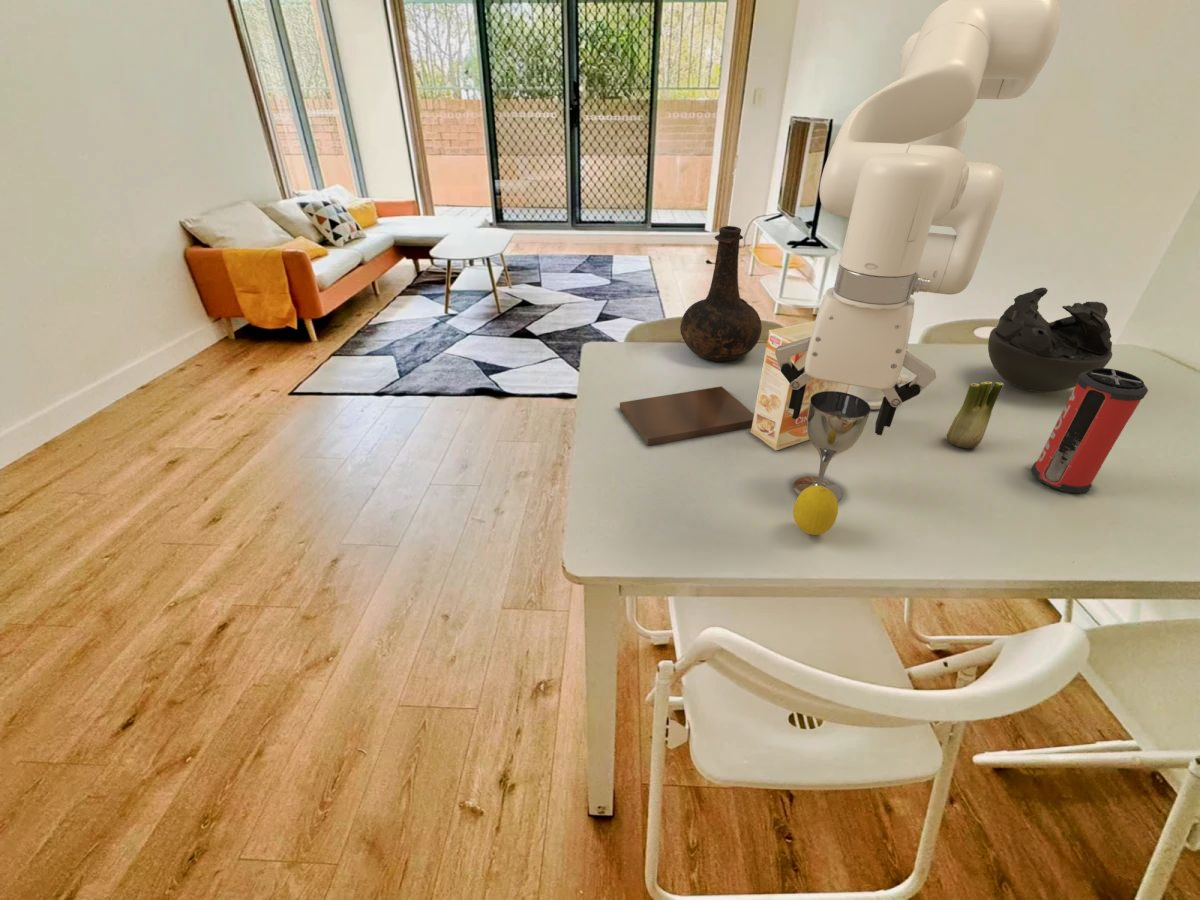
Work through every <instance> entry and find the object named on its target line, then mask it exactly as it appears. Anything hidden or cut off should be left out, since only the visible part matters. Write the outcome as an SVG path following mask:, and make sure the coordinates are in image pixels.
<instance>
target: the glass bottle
mask: <svg viewBox="0 0 1200 900" xmlns="http://www.w3.org/2000/svg"><path fill="white" fill-rule="evenodd" d="M718 230H719V233H718V234H717V235H715V236H714V240H716V241H717V242H718V243H717V249H716V256H715V263H714V267H713V274H712V279H711V283H710V287H709V291H708V293H707V296H706V297H705V299H701V300H698V301H696V302H695V303H693V304H691V305H690V306H689V307H688V308H687V309H686V311H685V312H684V313H683V316H682V318H681V321H680V326H679V327H680V328H679V330H680V335H681V337H682V339H683V341H684V344H685V346H687V348H688V349H689V350H690V351H691V352H692V353H693V354H695V355H696V356H698V357H699V358H702V359H706V360H709V361H714V362H715V361H716V362H727V361H735V360H737V359H740V358H743V357H744V356H746V355H747V354H749V353H750V352H751V351H752V350H753V349H754V348H755V347H756V345H757V344H758V342H759V340H760V337H761V336H762V335H761V334H762V330H763V327H762V321H761V317H760V314H759V313H758V311H757V310H756V309H755V308H754V307H753V306H752V305H750V304H748V301H746V300H745V299H743V298H742V297H741V295H740V291H739V290H740V289H739V255H740V254H739V253H740V240H743V239H744V236H743V235H741V233H742V228H740V227H739V226H735V225H724V226H721V227H720V228H719V229H718Z"/></svg>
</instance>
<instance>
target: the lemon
mask: <svg viewBox="0 0 1200 900" xmlns="http://www.w3.org/2000/svg"><path fill="white" fill-rule="evenodd" d="M838 513H839V504H838V502H837V499H836V497H835V495H834V494H833V493H832V492H831V491H830V490H829V489H827V488H825V487H823V486H811V487H808V488H806V489H804V490H803V491H802V492H801V493H800V495H798V496H797V498H796V500H795V502H794V505H793V511H792V514H793V520H794V523H795V524H796V526H797V527H798V528H799V529H800V530H801V531H802V532H804V533H806V534H808V535H813V536H818V535H822V534H825V533H827V532H828V531H830V529H831V528H832V527H833V526H834V525H835V523H836V520H837V517H838Z"/></svg>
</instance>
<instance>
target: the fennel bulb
mask: <svg viewBox="0 0 1200 900" xmlns="http://www.w3.org/2000/svg"><path fill="white" fill-rule="evenodd" d="M992 385H993V386H992ZM1003 387H1004V383H1003V382H998V381H997V382H996V381H995V382H994V384H993V381H983V382H980V383H973V382H972V383H970V384H969V386H968V390H967V392H966V395H965V398H964V400H963V404H962V406H961V407H960V409H959V411H958V413H957V414H956V415H955V417H954V418H953V420H952V423H951V425H950V427H949V429H948V431H947V434H946V439H947V441H948V442H949V444H951V445H952V446H955V447H959V448H962V449H973V448H976V447H977V446H979V444H980V443H981V441H982V440H983V439H984V436H985V433H986V431H987V428H988V425H989V422H990V418H991V416H992V411H993V409H994V407H995V404H996V402H997V400H998V397H999V395H1000V393H1001V391H1002V389H1003Z"/></svg>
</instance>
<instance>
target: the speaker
mask: <svg viewBox="0 0 1200 900" xmlns="http://www.w3.org/2000/svg"><path fill="white" fill-rule="evenodd" d="M1148 392H1149V389H1148V387H1147V386H1146V384H1145V382H1144V380H1143V379H1142V378H1140V377H1138V376H1136V375H1134V374H1132V373H1129V372H1126V371H1123V370H1118V369H1113V368H1106V367H1104V368H1094V369H1091V370H1089V371H1086V372H1083V373H1081V374H1080V375H1079V377H1078V379H1077V384H1076V386H1075V387H1073V390H1072V392H1071V394H1070V396H1069V398H1068V400H1067V402H1066V404H1065V406H1064V408H1063V410H1062V411H1061V414H1060V416H1059V418H1058V420H1057V421H1056V423H1055V425H1054V426H1053V429H1052V431H1051V432H1050V435H1049V437H1048V439H1047V440H1046V442H1045V445H1044V447H1043V448H1042V450H1041V452H1040V454H1039V456H1038V458H1037V461H1035V462H1034V463H1033V465H1032V467H1031V473H1032V475H1033V476H1034V478H1035V479H1036V480H1037V481H1038V482H1040V483H1041V484H1043V485H1046V486H1048V487H1051V488H1052V489H1054V490H1056V491H1059V492H1063V493H1076V494H1077V493H1078V494H1080V493H1085V492H1088V491H1090V490H1091V488H1092V483H1093V481H1094V479H1095V478H1096V476H1097V474H1099V471H1100V470H1101V468H1102V466H1103V464H1104V462H1105V460H1106V459H1107V457H1108V455H1109V454H1110V453H1111V450H1112V449H1113V447H1114V446H1115V443H1116V442H1117V440H1118V439H1119V437H1120V435H1121V433H1122V432H1123V431H1124V428H1125V427H1126V425H1127V423H1128V422H1129V420H1130V419H1131V417H1132V416H1133V414H1134V412H1135V411H1136V409H1137V407H1138V406H1139V404H1140V402H1141V401H1142V400H1143V399H1144V398H1145V396H1146V395H1147V394H1148Z"/></svg>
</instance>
